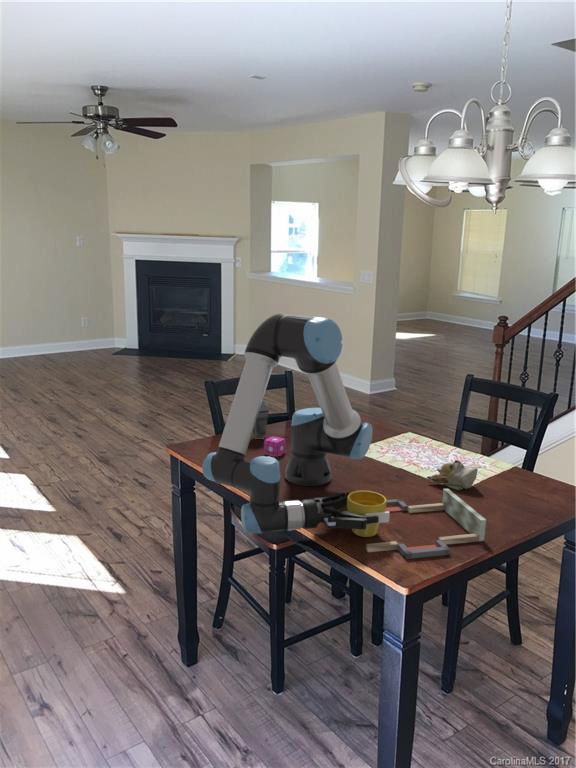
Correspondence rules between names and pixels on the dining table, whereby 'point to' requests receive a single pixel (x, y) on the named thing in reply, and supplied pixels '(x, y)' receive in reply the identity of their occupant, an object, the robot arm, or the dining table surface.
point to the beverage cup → (261, 421)
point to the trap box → (456, 510)
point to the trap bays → (419, 550)
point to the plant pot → (366, 509)
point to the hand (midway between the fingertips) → (380, 507)
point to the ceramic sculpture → (455, 475)
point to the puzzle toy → (274, 445)
